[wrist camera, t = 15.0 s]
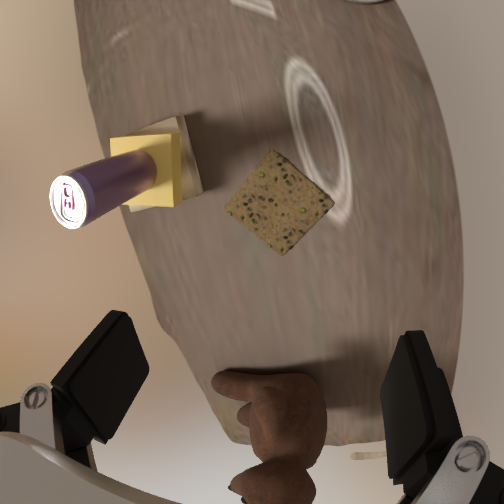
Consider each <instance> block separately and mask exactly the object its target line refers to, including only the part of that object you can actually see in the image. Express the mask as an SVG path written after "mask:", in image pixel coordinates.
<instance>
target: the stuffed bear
mask: <svg viewBox="0 0 504 504" xmlns="http://www.w3.org/2000/svg"><path fill="white" fill-rule="evenodd" d="M211 384H212V387H213V389H214V390H215V391H216V392H217V393H219V394H221V395H223V396H226V397H228V398H232V399H235V400H240V401H249V402H251V403H249V404H246V405H245V406H243V407H242V408H240V410H239V411H238V413H237V419H238V421H239V422H240V423H241V424H242V425H245V426H247V427H249V429H250V438H251V443H252V448H253V451H254V453H255V455H256V456H257V457H258V458H259V459H260V460H261V461H262V462H263V463H262V464H259V465H257V466H254V467H251V468H249V469H247V470H245V471H244V472H242V473H240V474H238V475H237V476H235V477H234V478H233V480H232V481H231V484H230V485H229V486H228V489H229V490H231V491H233V492H235V493H237V494H239V495H241V496H243V497H242V498H241V501H242V503H244V504H312V502H313V500H314V498H315V495H316V488H315V484H314V482H313V480H312V479H311V477H310V475H309V474H308V472H307V470H306V469H308V468H310V467H312V466H313V465H314V464H315V463H316V460H317V458H318V457H319V455H320V453H321V450H322V448H323V446H324V442H325V437H326V432H327V411H326V405H325V402H324V399H323V397H322V394H321V392H320V389H319V387H318V385H317V383H316V381H315V380H314V379H313V378H312V377H310V376H309V375H306V374H303V373H285V374H275V375H254V374H247V373H240V372H233V371H220V372H218V373H216V374H215V375H214V376H213V378H212V381H211Z"/></svg>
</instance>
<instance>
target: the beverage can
mask: <svg viewBox="0 0 504 504" xmlns="http://www.w3.org/2000/svg"><path fill="white" fill-rule="evenodd" d="M156 176H157V168H156V164H155V162H154V160H153V158H152V157H151V156H150V155H149V154H148V153H146V152H145V151H142V150H133V151H130V152H126V153H122V154H119V155H116V156H112V157H109V158H106V159H103V160H99V161H96V162H93V163H90V164H87V165H84V166H81V167H78V168H75V169H72V170H69V171H66V172H65V173H63V174H62V175H61V176H59V177H57V178H56V179H55V180H54V182H53V183H52V186H51V189H50V204H51V208H52V211H53V213H54V215H55V217H56V218H57V220H58V221H59V222H60V223H61V224H62V225H63V226H65V227H67V228H69V229H76V228H79V227H83V226H85V225H87V224H89V223H91V222H92V221H94V220H96V219H97V218H99V217H100V216H102V215H104V214H105V213H107V212H109V211H111V210H112V209H114V208H116V207H118V206H119V205H121V204H123V203H125V202H127V201H128V200H130V199H132V198H134V197H136V196H138V195H139V194H141V193H143V192H145V191H147V190H148V189H150V188H151V187H152V186H153V184H154V182H155V180H156Z"/></svg>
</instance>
